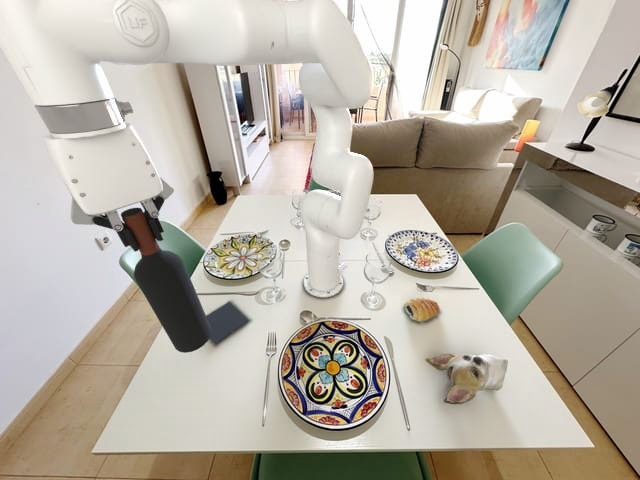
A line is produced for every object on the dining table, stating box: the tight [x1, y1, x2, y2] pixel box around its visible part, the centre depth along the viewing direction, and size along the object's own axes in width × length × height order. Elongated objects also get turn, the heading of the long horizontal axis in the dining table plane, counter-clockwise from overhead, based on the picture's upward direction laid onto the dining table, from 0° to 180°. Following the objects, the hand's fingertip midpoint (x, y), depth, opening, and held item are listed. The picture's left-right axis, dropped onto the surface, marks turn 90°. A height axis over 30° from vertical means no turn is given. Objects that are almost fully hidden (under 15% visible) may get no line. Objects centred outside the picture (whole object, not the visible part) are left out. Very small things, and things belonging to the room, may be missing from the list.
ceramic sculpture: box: [424, 353, 509, 405], centre depth 57 cm, size 11×9×15 cm
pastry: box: [403, 297, 440, 323], centre depth 75 cm, size 9×7×4 cm
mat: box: [206, 301, 250, 345], centre depth 74 cm, size 10×10×1 cm
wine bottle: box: [120, 207, 212, 354], centre depth 48 cm, size 8×8×30 cm
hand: (146, 241), depth 43 cm, fingers closed on wine bottle, 2 cm apart
